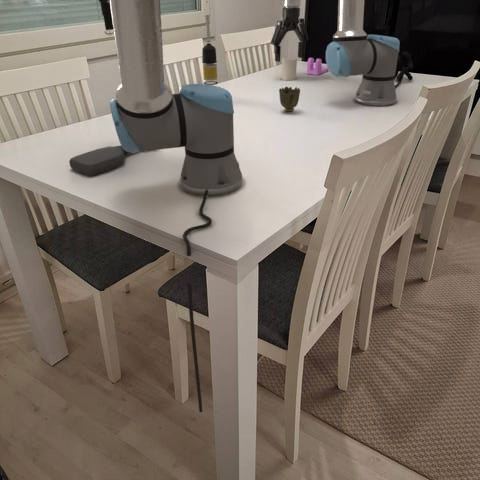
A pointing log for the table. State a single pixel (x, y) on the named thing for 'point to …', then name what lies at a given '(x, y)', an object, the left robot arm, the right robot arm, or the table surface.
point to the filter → (209, 58)
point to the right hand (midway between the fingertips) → (289, 59)
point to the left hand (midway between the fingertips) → (127, 31)
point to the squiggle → (404, 70)
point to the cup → (289, 98)
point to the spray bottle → (99, 160)
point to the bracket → (317, 69)
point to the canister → (289, 68)
